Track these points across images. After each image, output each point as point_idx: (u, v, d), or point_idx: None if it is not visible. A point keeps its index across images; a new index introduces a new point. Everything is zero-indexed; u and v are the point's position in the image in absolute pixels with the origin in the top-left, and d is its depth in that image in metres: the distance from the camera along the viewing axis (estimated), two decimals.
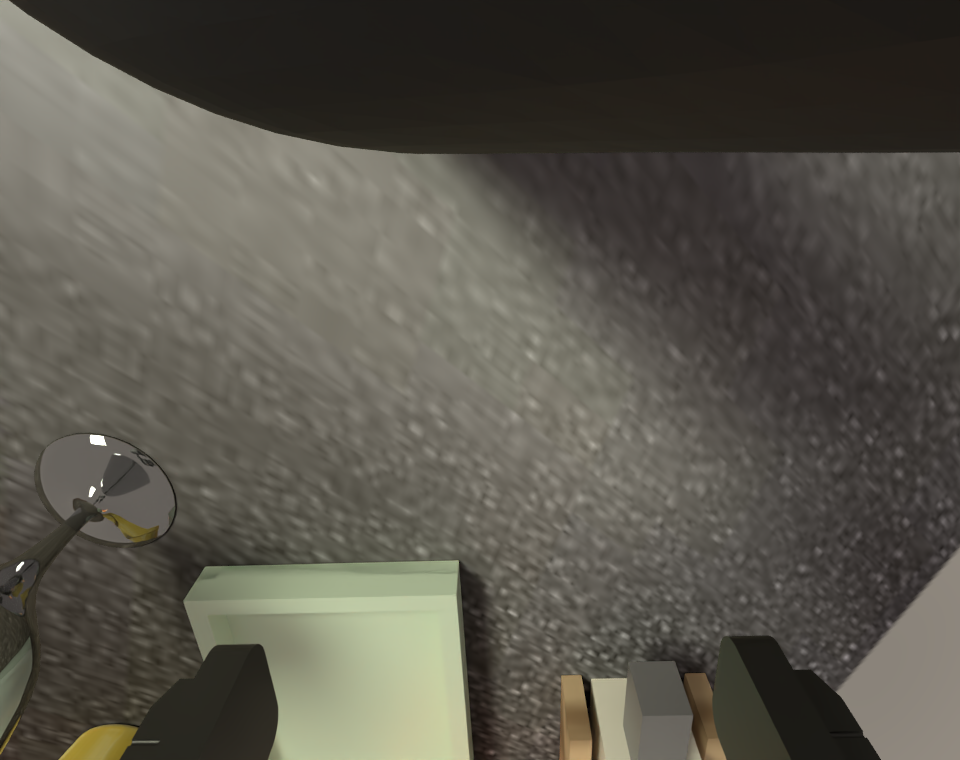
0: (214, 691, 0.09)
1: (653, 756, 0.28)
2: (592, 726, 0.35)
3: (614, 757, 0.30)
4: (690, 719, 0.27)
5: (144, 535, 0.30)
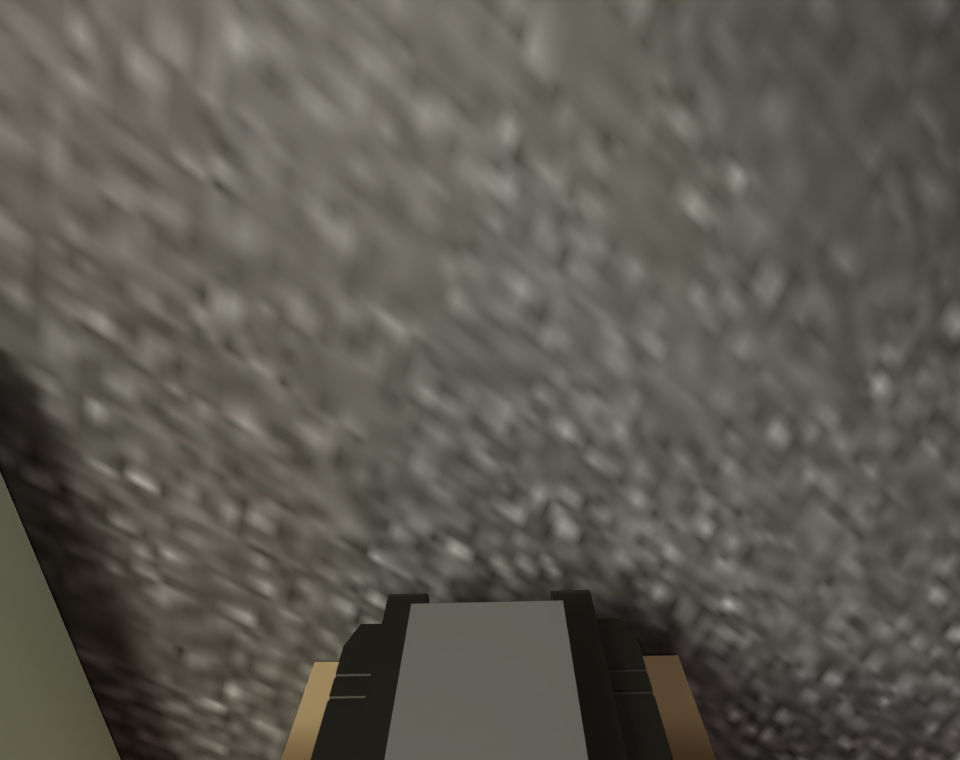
0: (405, 631, 0.10)
1: None
2: None
3: None
4: None
5: None
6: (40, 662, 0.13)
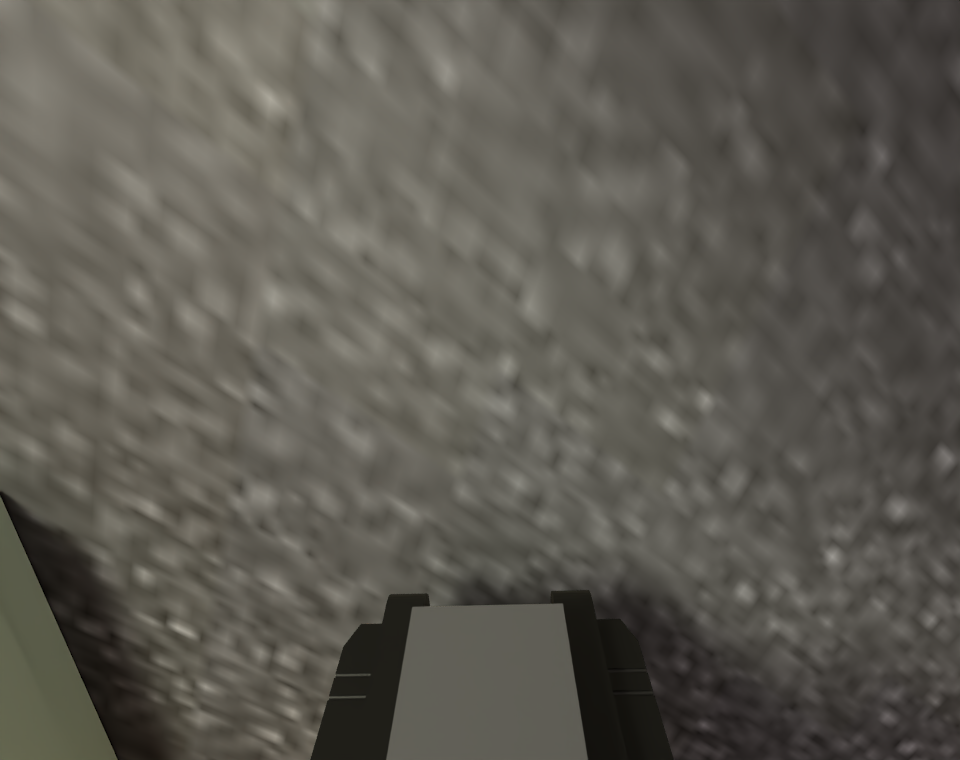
0: (405, 631, 0.10)
1: None
2: None
3: None
4: None
5: None
6: None
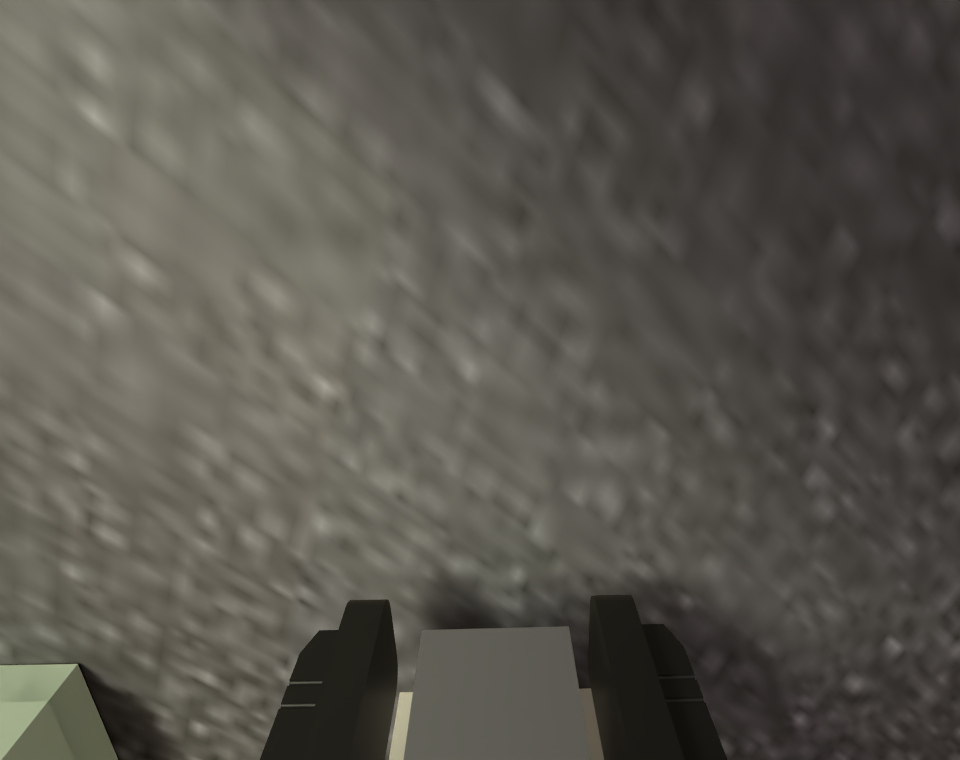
0: (361, 638, 0.10)
1: None
2: None
3: None
4: None
5: None
6: None
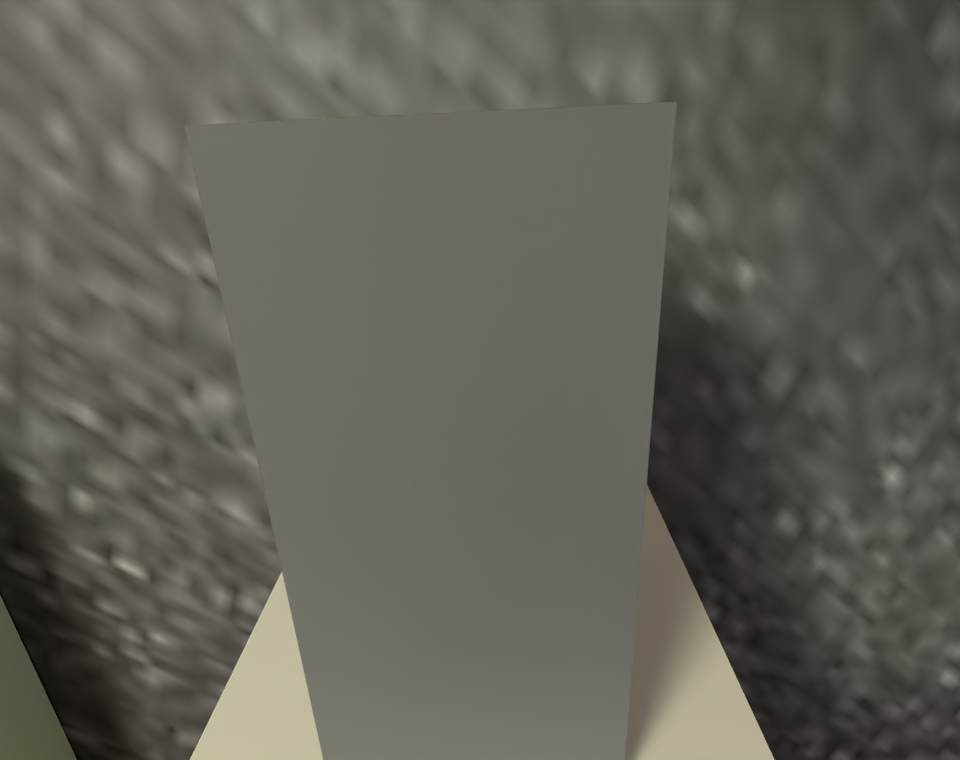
0: None
1: (397, 600, 0.04)
2: None
3: (282, 667, 0.06)
4: (650, 167, 0.03)
5: None
6: (26, 749, 0.12)
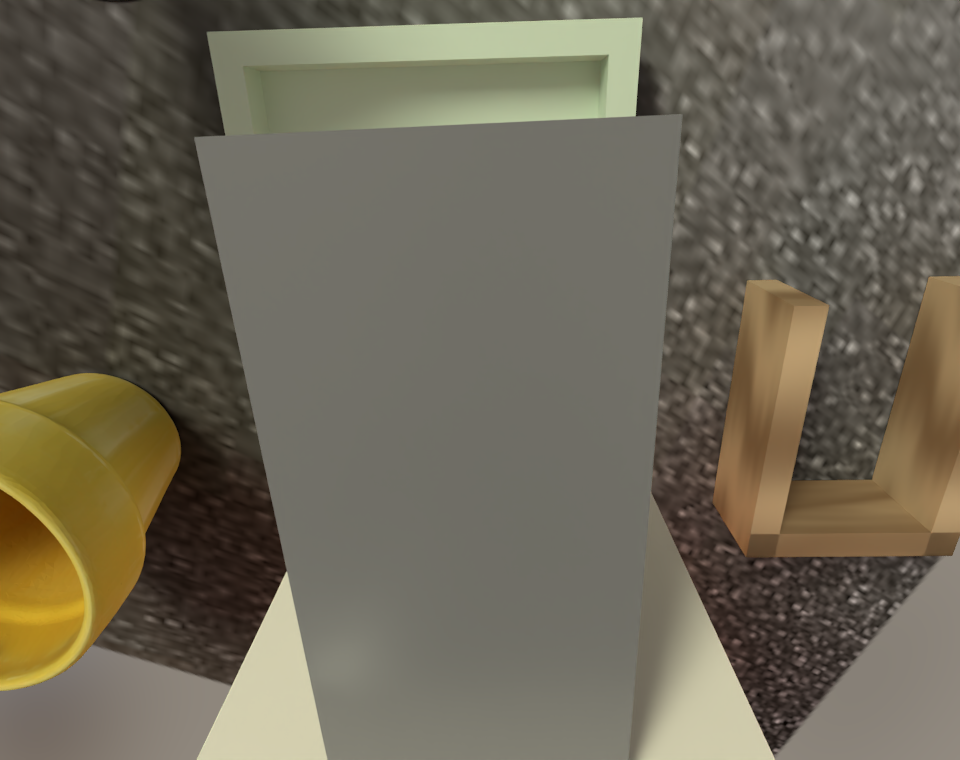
0: None
1: (402, 605, 0.04)
2: None
3: (287, 669, 0.06)
4: (655, 178, 0.03)
5: None
6: None
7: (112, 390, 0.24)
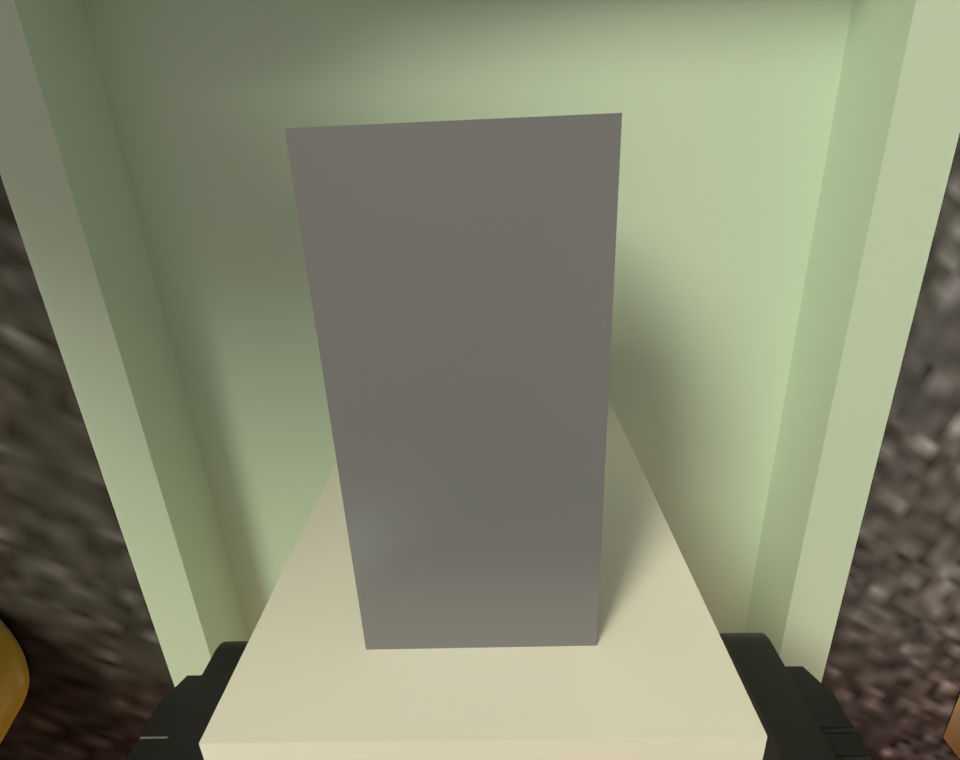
0: (222, 687, 0.09)
1: (423, 486, 0.05)
2: None
3: (321, 571, 0.07)
4: (605, 157, 0.04)
5: None
6: None
7: None
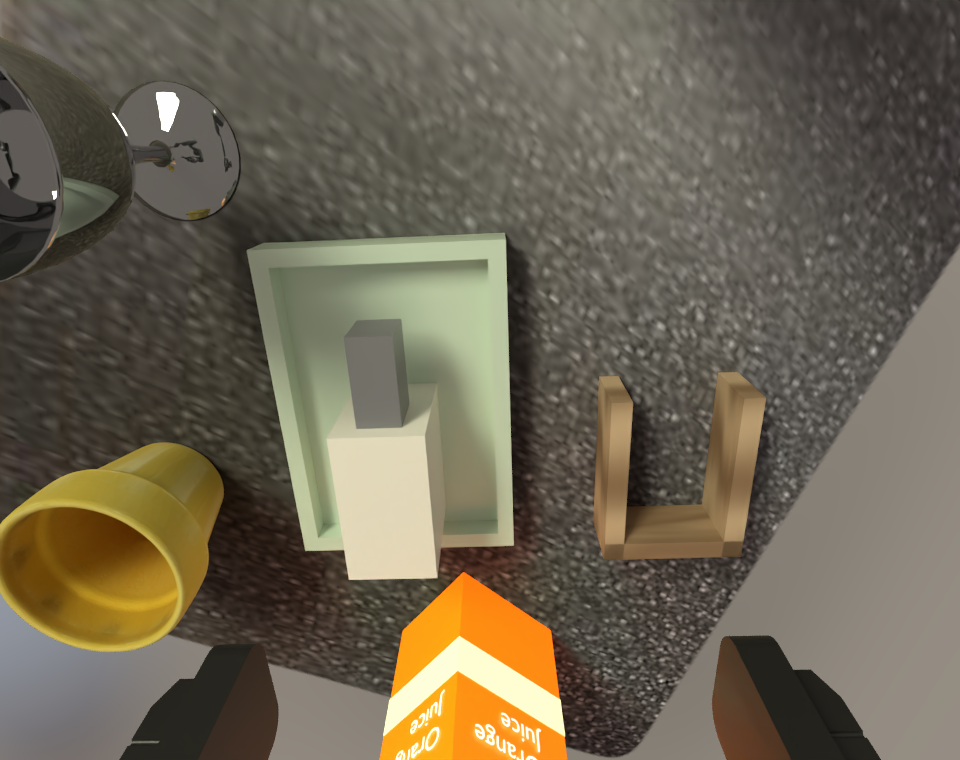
0: (214, 691, 0.09)
1: (366, 393, 0.29)
2: None
3: (346, 419, 0.31)
4: (390, 341, 0.28)
5: (208, 202, 0.32)
6: None
7: (180, 455, 0.37)
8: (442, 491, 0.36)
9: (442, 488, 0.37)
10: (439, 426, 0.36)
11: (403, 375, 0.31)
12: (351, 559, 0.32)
